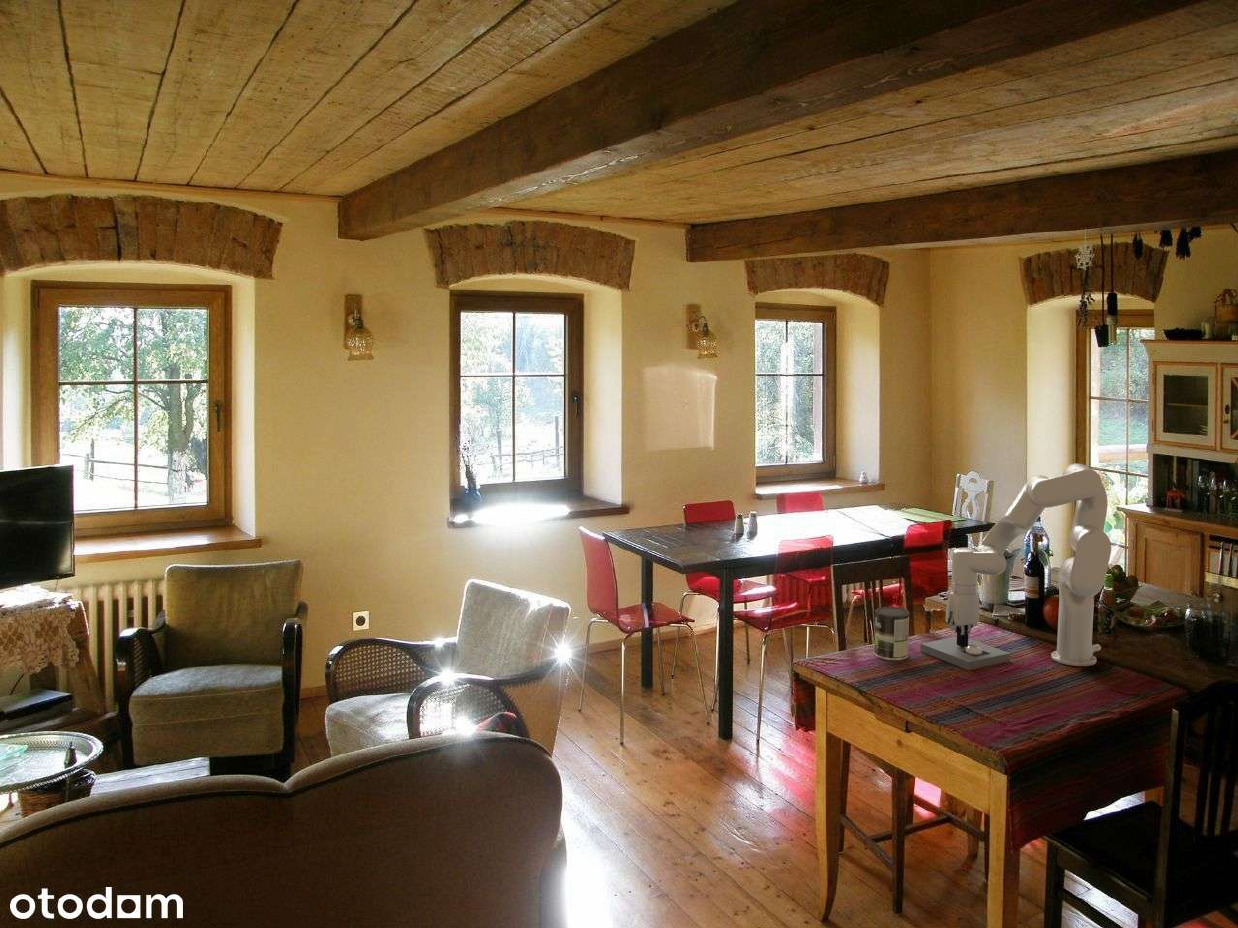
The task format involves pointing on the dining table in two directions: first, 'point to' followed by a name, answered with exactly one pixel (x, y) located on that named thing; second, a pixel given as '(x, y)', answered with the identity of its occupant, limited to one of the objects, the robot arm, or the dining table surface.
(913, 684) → the dining table surface
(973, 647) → the steel ball
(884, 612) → the coffee can
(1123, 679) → the dining table surface
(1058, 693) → the dining table surface
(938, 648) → the hole board
